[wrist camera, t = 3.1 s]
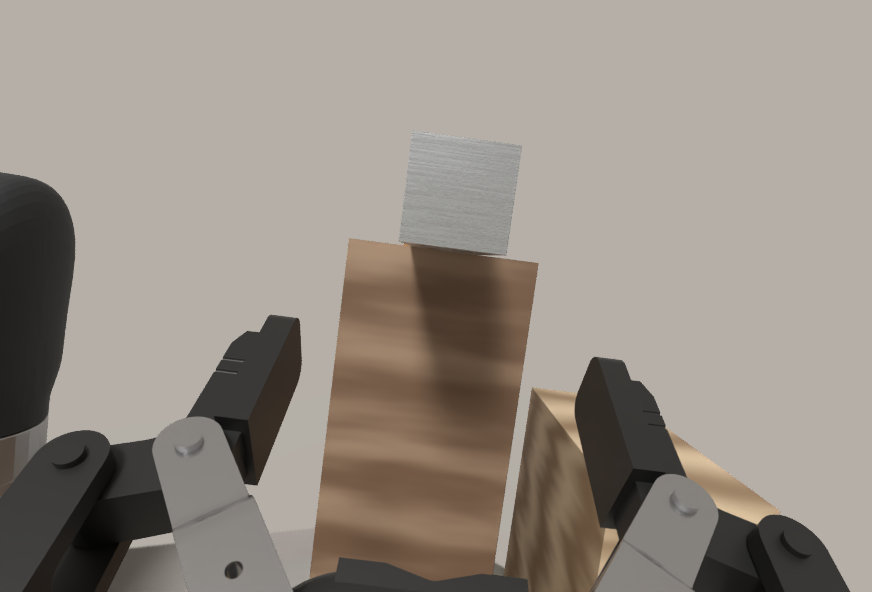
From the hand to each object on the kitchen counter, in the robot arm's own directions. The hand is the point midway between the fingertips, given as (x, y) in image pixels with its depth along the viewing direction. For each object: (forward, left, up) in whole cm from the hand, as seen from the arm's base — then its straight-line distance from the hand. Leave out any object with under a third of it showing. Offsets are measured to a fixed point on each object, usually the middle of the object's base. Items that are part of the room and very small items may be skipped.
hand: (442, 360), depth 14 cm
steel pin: (-8, +14, +3) cm, 16 cm away
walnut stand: (-10, +18, -29) cm, 35 cm away
